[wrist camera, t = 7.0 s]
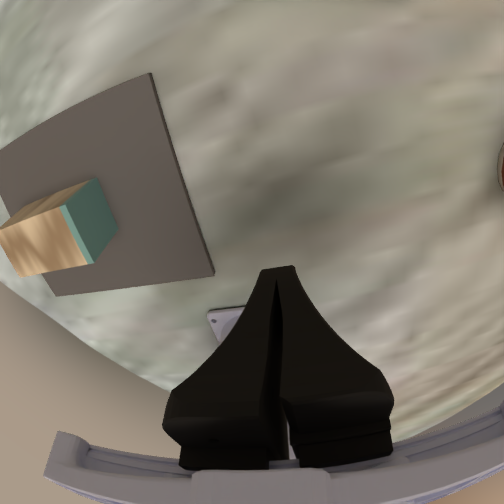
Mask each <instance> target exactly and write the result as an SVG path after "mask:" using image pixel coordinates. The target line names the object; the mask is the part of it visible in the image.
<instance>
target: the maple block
mask: <svg viewBox="0 0 504 504" xmlns="http://www.w3.org/2000/svg"><path fill="white" fill-rule="evenodd" d="M117 231H118V226H117V224H116V222H115V220H114V217H113V215H112V213H111V210H110V208H109V206H108V203H107V201H106V199H105V196H104V194H103V191H102V189H101V187H100V184H99V182H98V179H97V177H96V178H94V179H91V180H88V181H85V182H83V183H80V184H77V185H74V186H72V187H69V188H67V189H64V190H62V191H59V192H56V193H54V194H52V195H49V196H47V197H44V198H42V199H40V200H37V201H35V202H33V203H30V204H28V205H26V206H24V207H23V208H21V209H20V210H19V211H18V212H17V213H16V214H14V215H13V216H12V217H11V218H10V219H9V220H8V221H7V222H5V223H4V224H3V225H2V226H1V227H0V244H1V246H2V248H3V249H4V251H5V253H6V255H7V257H8V258H9V260H10V262H11V263H12V265H13V267H14V269H15V270H16V272H17V273H18V275H19V277H25V276H30V275H35V274H40V273H45V272H50V271H56V270H61V269H66V268H71V267H76V266H82V265H87V264H92V263H95V261H96V260H97V258H98V257H99V256H100V254H101V253H102V251H103V250H104V248H105V247H106V246H107V244H108V243H109V242H110V240H111V239H112V237H113V236H114V235H115V233H116V232H117Z"/></svg>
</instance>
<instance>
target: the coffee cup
mask: <svg viewBox="0 0 504 504" xmlns="http://www.w3.org/2000/svg"><path fill="white" fill-rule="evenodd" d="M497 172H498V182H499V184H500V186H501V188H502V190H503V192H504V144H503V146H502V149H501V151H500V153H499V159H498V166H497Z"/></svg>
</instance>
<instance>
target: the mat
mask: <svg viewBox="0 0 504 504" xmlns="http://www.w3.org/2000/svg"><path fill="white" fill-rule="evenodd" d="M96 177H97V179H98V182H99V184H100V187H101V189H102V191H103V194H104V196H105V199H106V201H107V203H108V206H109V208H110V210H111V213H112V215H113V217H114V220H115V222H116V224H117V226H118V231H117V232H116V233H115V235H114V236H113V237H112V239H111V240H110V242H109V243H108V244H107V246H106V247H105V248H104V250H103V251H102V253H101V254H100V256H99V257H98V258H97V260H96V261H95V263H92V264H87V265H82V266H76V267H71V268H66V269H61V270H56V271H50V272H45V273H41V274H42V275H43V277H44V279H45V280H46V282H47V283H48V285H49V286H50V288H51V290H52V291H53V293H54V294H55V296H56V297H57V296H65V295H74V294H82V293H90V292H98V291H106V290H114V289H122V288H130V287H137V286H145V285H153V284H160V283H167V282H175V281H182V280H189V279H197V278H204V277H211V276H214V274H215V271H214V268H213V266H212V263H211V260H210V257H209V254H208V251H207V249H206V246H205V243H204V240H203V237H202V234H201V231H200V228H199V225H198V223H197V220H196V217H195V214H194V211H193V208H192V205H191V202H190V199H189V196H188V193H187V190H186V187H185V183H184V180H183V177H182V174H181V171H180V168H179V165H178V162H177V158H176V155H175V152H174V149H173V146H172V142H171V139H170V136H169V133H168V129H167V126H166V123H165V119H164V116H163V113H162V109H161V106H160V102H159V99H158V96H157V92H156V89H155V85H154V81H153V78H152V74H151V73H147V74H145V75H142V76H139V77H137V78H134V79H132V80H129V81H127V82H124V83H122V84H119V85H117V86H115V87H112V88H110V89H108V90H106V91H103V92H101V93H99V94H97V95H95V96H93V97H90V98H88V99H86V100H84V101H82V102H80V103H78V104H76V105H74V106H72V107H70V108H68V109H67V110H65V111H63V112H61V113H59V114H57V115H55V116H54V117H52V118H50V119H48V120H47V121H45V122H43V123H41V124H40V125H38V126H36V127H35V128H33V129H32V130H30V131H28V132H27V133H25V134H24V135H22V136H20V137H19V138H17V139H16V140H14V141H13V142H11V143H10V144H8V145H7V146H5V147H4V148H3V149H1V150H0V195H1V197H2V199H3V202H4V204H5V206H6V208H7V210H8V212H9V215H10V217H12V216H13V215H14V214H16V213H17V212H18V211H19V210H20V209H21V208H23V207H24V206H26V205H28V204H30V203H33V202H35V201H37V200H40V199H42V198H44V197H47V196H49V195H52V194H54V193H56V192H59V191H62V190H64V189H67V188H69V187H72V186H74V185H77V184H80V183H83V182H85V181H88V180H91V179H94V178H96Z"/></svg>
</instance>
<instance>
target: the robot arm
mask: <svg viewBox="0 0 504 504" xmlns="http://www.w3.org/2000/svg"><path fill="white" fill-rule="evenodd" d="M207 318H208V320H209V323H210V325H211V327H212V329H213V331H214V334H215V336H216V338H217V340H218V342H219V347H218V348H217V349H216V350H215V352H214V353H213V354H212V355H211V356H210V357H209V358H208V359H207V360H206V361H205V362H204V363H203V364H202V365H201V366H200V367H199V368H198V369H197V370H196V371H195V372H194V373H193V374H192V375H191V376H189V377H188V378H187V379H186V380H184V381H183V382H182V383H181V384H179V385H178V386H177V387H176V388H174V389H173V390H172V391H171V394H170V397H169V399H168V402H167V405H166V409H165V414H164V419H163V423H162V426H163V429H164V431H165V432H166V433H167V434H168V435H169V436H170V437H171V438H172V439H173V440H175V441H176V442H177V443H178V444H179V445H180V446H181V452H180V459H173V458H164V457H156V456H149V455H141V454H135V453H129V452H123V451H117V450H113V449H108V448H103V447H99V446H94V445H90V444H89V443H88V442H86V441H85V440H84V439H82V438H80V437H78V436H76V435H73V434H69V433H65V432H61V431H58V432H57V434H56V437H55V440H54V443H53V446H52V449H51V452H50V455H49V458H48V461H47V465H46V468H45V471H44V478H46V479H48V480H50V481H52V482H54V483H56V484H58V485H60V486H62V487H64V488H66V489H68V490H70V491H72V492H74V493H76V494H79V495H81V496H84V497H87V498H89V499H92V500H95V501H98V502H101V503H104V504H425V503H429V502H431V501H434V500H437V499H439V498H442V497H445V496H447V495H449V494H452V493H455V492H457V491H460V490H462V489H464V488H467V487H469V486H471V485H473V484H475V483H477V482H480V481H482V480H484V479H486V478H488V477H490V476H492V475H494V474H496V473H497V472H499V471H501V470H503V469H504V400H503V402H502V403H501V405H500V406H499V407H496V408H494V409H492V410H490V411H487V412H485V413H483V414H480V415H478V416H475V417H473V418H471V419H468V420H465V421H463V422H460V423H457V424H455V425H452V426H449V427H446V428H443V429H440V430H437V431H434V432H431V433H428V434H424V435H421V436H418V437H414V438H411V439H407V440H403V441H399V442H395V443H392V439H391V434H390V430H391V424H390V419H389V416H390V414H391V411H392V408H393V406H394V397H393V394H392V391H391V389H390V387H389V384H388V383H387V381H386V379H385V377H384V376H383V374H382V372H381V371H380V370H379V369H378V368H377V367H375V366H374V365H372V364H371V363H370V362H368V361H367V360H366V359H364V358H363V357H362V356H360V355H359V354H358V353H357V352H356V351H354V350H353V349H352V348H351V347H350V346H349V345H348V344H347V343H346V342H345V341H344V340H343V339H342V338H340V337H339V336H338V335H337V333H336V332H335V331H334V330H333V329H332V328H331V327H330V326H329V325H328V323H327V322H326V321H325V320H324V319H323V317H322V316H321V315H320V313H319V312H318V311H317V309H316V308H315V306H314V305H313V303H312V302H311V300H310V299H309V297H308V295H307V294H306V292H305V290H304V289H303V287H302V285H301V283H300V281H299V278H298V276H297V273H296V270H295V267H294V266H293V265H290V266H283V267H276V268H270V269H263V270H261V272H260V274H259V277H258V280H257V282H256V285H255V287H254V289H253V292H252V294H251V296H250V298H249V300H248V302H247V304H246V306H245V307H240V308H232V309H223V310H214V311H209V312H208V314H207ZM213 319H215V320H213Z"/></svg>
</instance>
